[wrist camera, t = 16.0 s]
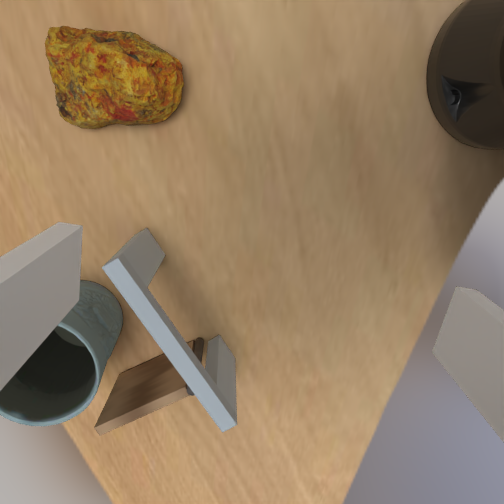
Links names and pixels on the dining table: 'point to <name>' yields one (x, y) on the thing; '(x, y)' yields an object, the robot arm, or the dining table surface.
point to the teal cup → (66, 362)
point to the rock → (111, 77)
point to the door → (145, 391)
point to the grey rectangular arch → (175, 330)
